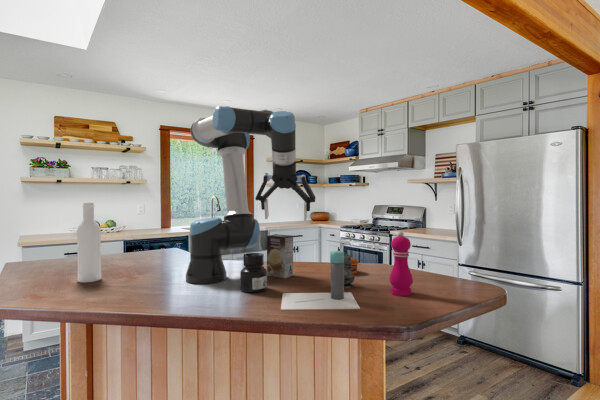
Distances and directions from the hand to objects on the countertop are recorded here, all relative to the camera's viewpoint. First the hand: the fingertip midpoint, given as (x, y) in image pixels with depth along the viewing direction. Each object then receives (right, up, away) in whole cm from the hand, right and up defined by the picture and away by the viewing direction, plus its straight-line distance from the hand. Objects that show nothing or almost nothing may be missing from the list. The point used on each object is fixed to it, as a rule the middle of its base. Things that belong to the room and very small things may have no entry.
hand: (286, 218), depth 124 cm
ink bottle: (-11, -24, -4) cm, 27 cm away
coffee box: (-3, -24, +17) cm, 30 cm away
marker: (+16, -24, -15) cm, 33 cm away
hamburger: (+24, -24, +22) cm, 40 cm away
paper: (+10, -24, -17) cm, 32 cm away
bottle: (-76, -25, +12) cm, 81 cm away
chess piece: (+21, -24, 0) cm, 32 cm away
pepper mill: (+37, -24, -10) cm, 45 cm away
